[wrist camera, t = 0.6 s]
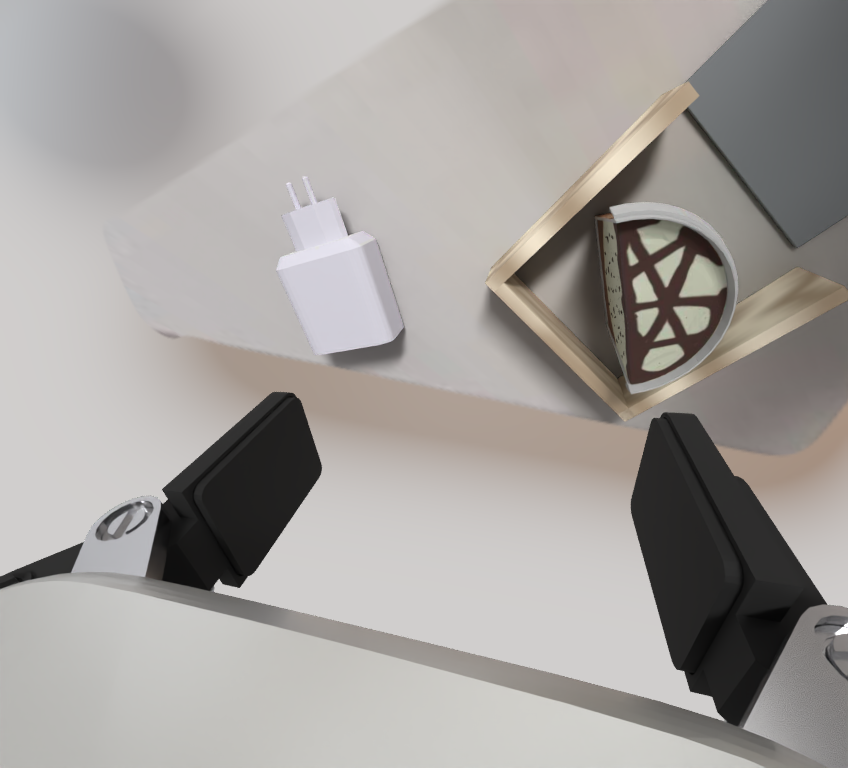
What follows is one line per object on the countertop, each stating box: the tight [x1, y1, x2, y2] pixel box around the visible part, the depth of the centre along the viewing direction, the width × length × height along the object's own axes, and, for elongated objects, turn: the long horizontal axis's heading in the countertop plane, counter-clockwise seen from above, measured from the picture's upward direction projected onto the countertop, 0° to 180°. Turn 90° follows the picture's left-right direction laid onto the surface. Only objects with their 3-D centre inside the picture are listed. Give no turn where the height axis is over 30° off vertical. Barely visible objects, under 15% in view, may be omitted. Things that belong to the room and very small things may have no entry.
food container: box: [595, 202, 738, 394], centre depth 25 cm, size 12×6×10 cm, turn 19°
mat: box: [685, 0, 848, 248], centre depth 22 cm, size 10×14×1 cm
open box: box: [485, 81, 848, 422], centre depth 28 cm, size 16×17×5 cm
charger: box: [276, 176, 404, 355], centre depth 34 cm, size 5×9×15 cm
